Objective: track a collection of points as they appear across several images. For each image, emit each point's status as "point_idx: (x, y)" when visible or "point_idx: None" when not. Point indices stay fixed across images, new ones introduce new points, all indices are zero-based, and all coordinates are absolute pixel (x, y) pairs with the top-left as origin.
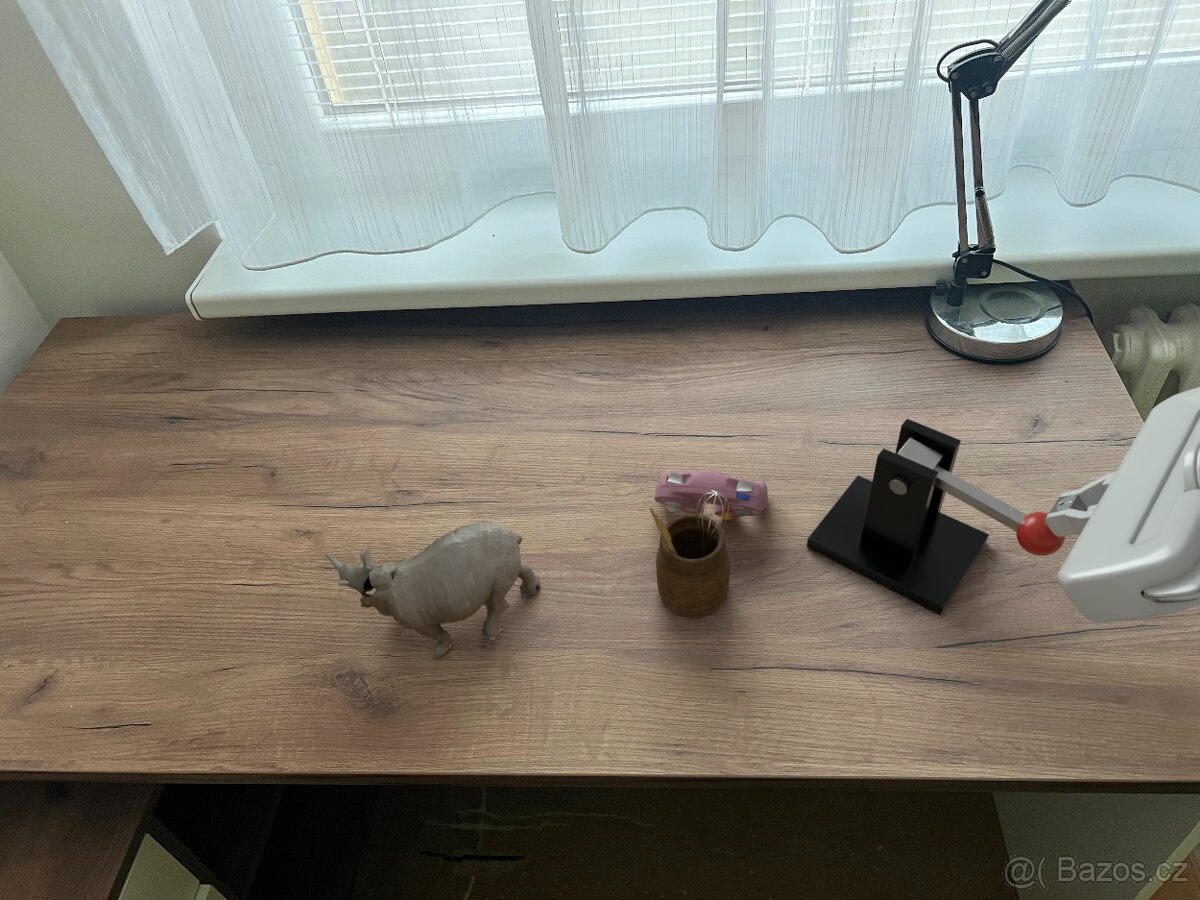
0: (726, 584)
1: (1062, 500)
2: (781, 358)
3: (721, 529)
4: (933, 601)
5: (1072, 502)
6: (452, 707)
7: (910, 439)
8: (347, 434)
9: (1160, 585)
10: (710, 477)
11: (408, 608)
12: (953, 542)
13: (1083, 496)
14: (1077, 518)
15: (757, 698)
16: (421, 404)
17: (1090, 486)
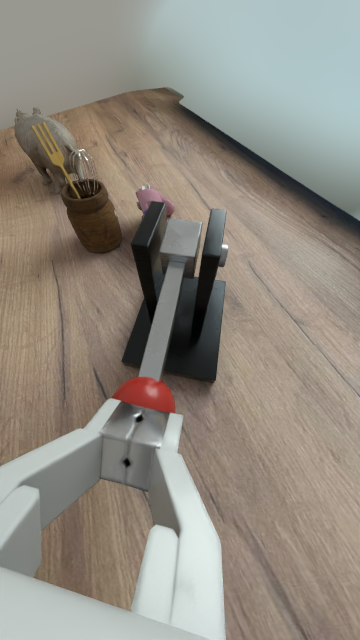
0: (91, 238)
1: (152, 419)
2: (304, 228)
3: (93, 197)
4: (124, 353)
5: (126, 439)
6: (18, 194)
7: (198, 223)
8: (147, 136)
9: None
10: (149, 193)
11: (18, 135)
12: (192, 354)
13: (155, 464)
14: (17, 459)
15: (34, 283)
16: (174, 144)
17: (169, 479)
